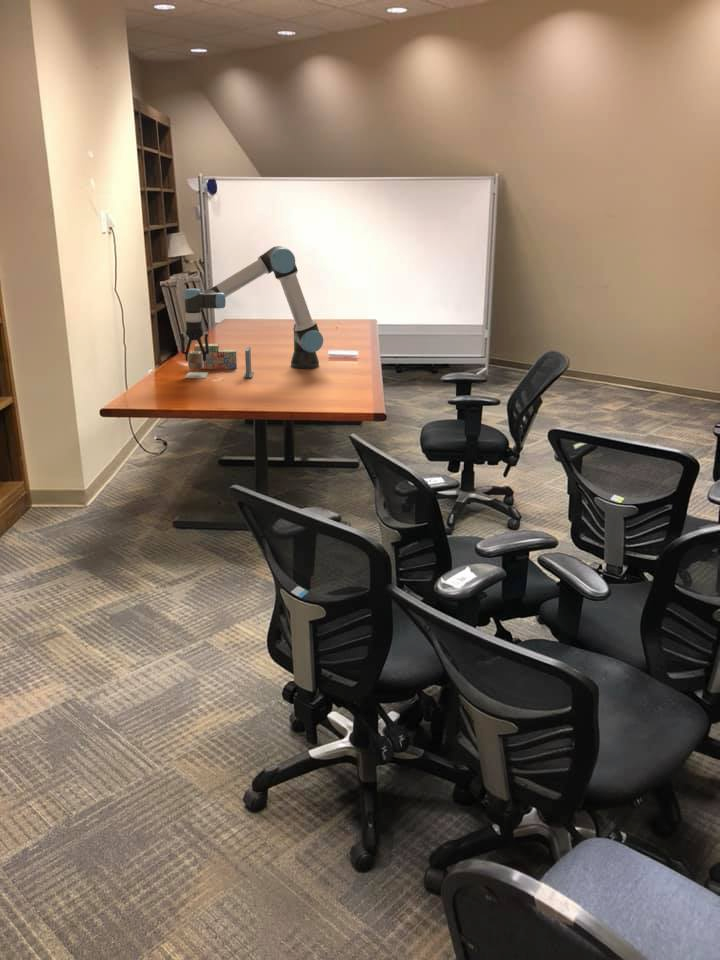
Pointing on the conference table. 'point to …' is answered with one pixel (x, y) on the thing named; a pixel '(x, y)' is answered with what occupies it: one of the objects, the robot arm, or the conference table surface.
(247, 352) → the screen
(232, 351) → the stack of blocks
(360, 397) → the conference table surface
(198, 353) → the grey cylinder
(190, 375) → the pad
